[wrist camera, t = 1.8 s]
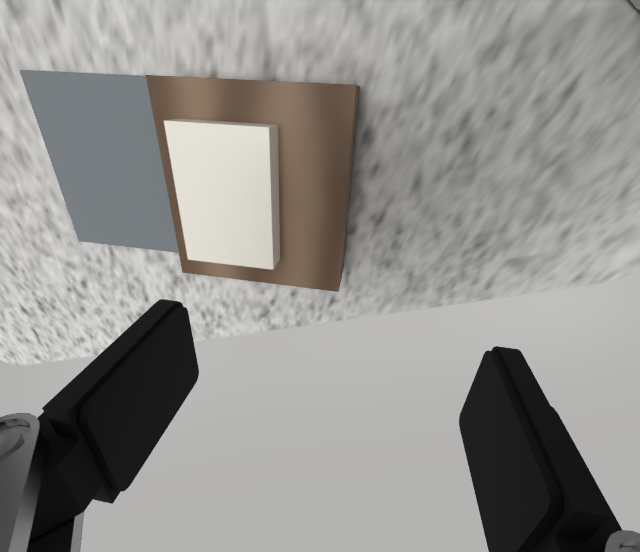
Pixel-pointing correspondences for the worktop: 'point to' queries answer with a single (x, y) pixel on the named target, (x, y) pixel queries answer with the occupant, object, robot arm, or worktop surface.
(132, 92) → the mat
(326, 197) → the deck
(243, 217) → the cream rectangular block
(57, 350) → the worktop surface
